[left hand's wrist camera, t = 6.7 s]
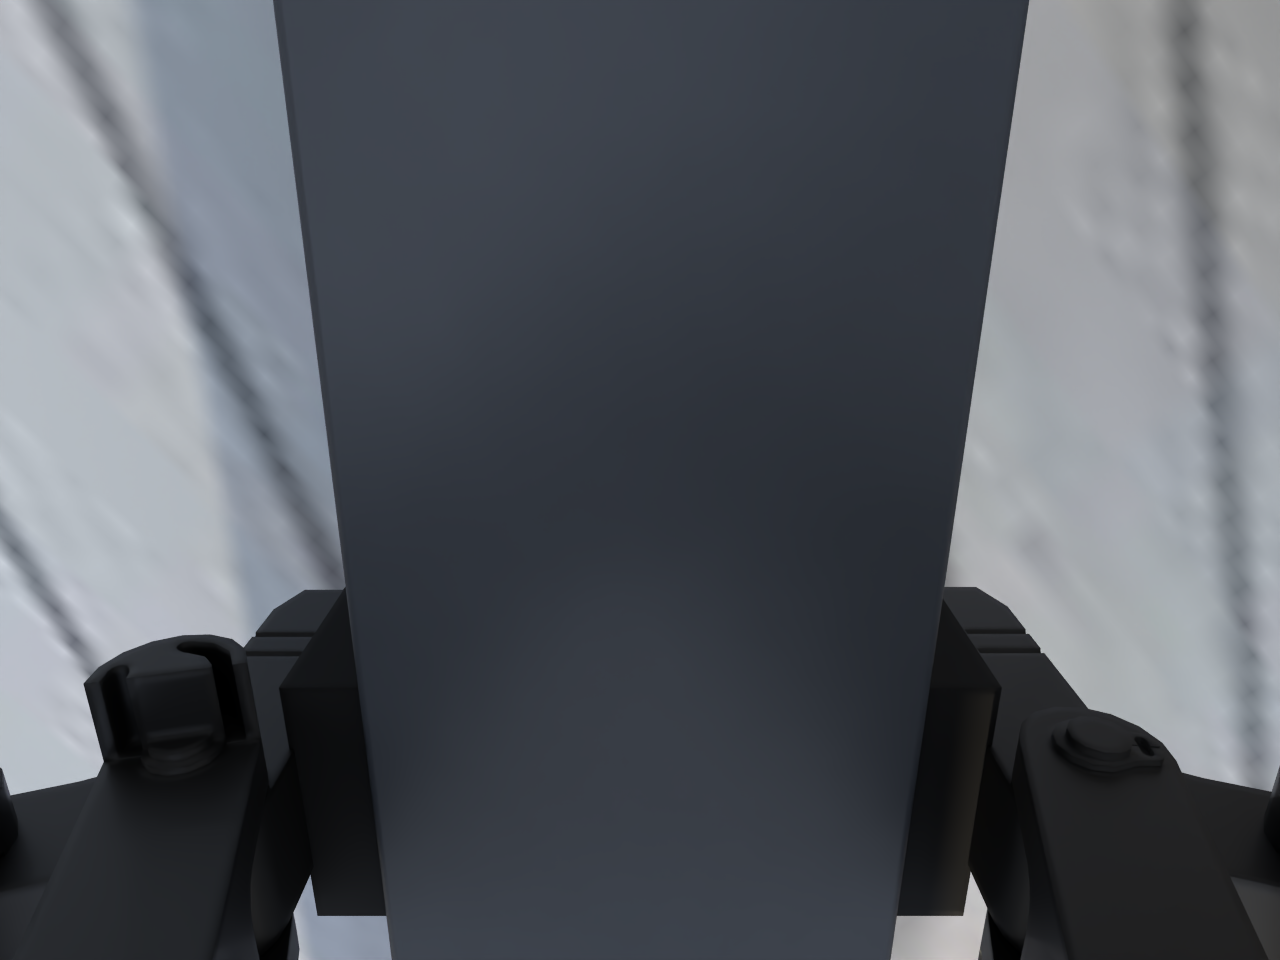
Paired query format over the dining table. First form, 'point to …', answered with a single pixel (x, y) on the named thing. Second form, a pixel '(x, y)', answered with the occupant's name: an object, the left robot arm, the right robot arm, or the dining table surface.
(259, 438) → the dining table surface
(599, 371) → the beam
